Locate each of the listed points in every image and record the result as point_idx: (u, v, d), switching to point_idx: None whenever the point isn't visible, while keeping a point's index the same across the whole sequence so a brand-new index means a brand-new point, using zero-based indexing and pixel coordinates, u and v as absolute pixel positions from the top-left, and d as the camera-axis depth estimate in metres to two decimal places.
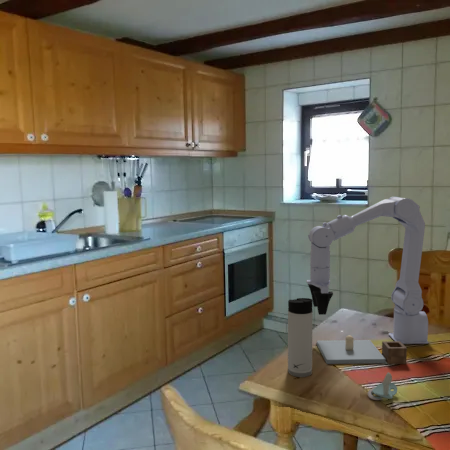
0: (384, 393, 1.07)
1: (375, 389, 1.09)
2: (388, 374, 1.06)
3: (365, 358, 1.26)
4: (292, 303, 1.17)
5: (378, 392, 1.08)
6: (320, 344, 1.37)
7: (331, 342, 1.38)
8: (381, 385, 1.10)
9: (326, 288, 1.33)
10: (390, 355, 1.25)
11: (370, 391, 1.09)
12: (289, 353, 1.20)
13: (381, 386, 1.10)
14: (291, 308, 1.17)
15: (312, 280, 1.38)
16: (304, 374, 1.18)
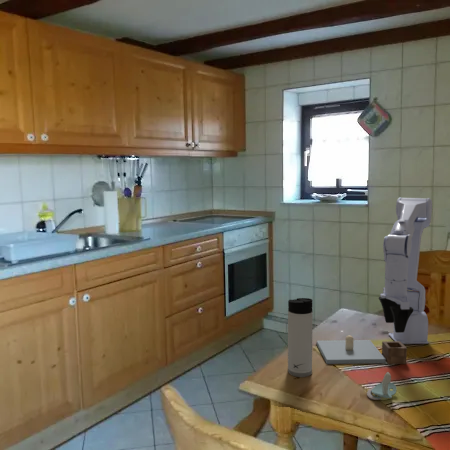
0: (383, 393, 1.07)
1: (374, 389, 1.09)
2: (387, 374, 1.06)
3: (365, 358, 1.26)
4: (292, 303, 1.17)
5: (377, 392, 1.08)
6: (320, 344, 1.37)
7: (331, 342, 1.38)
8: (380, 385, 1.11)
9: (407, 304, 1.19)
10: (390, 355, 1.25)
11: (369, 391, 1.09)
12: (289, 353, 1.20)
13: (380, 386, 1.10)
14: (291, 308, 1.17)
15: (388, 294, 1.24)
16: (304, 374, 1.18)
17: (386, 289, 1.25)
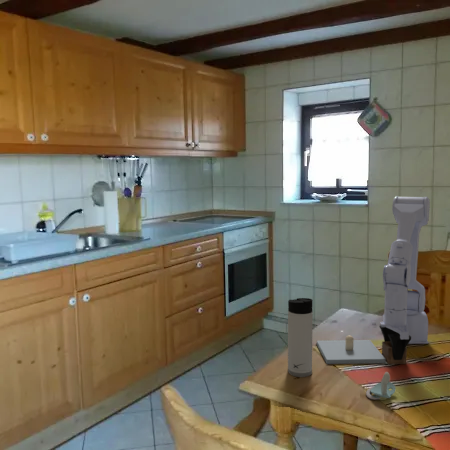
0: (382, 392, 1.07)
1: (373, 389, 1.09)
2: (386, 373, 1.07)
3: (365, 358, 1.26)
4: (292, 303, 1.17)
5: (376, 391, 1.08)
6: (320, 344, 1.37)
7: (331, 342, 1.38)
8: (379, 385, 1.11)
9: (406, 334, 1.20)
10: (390, 355, 1.25)
11: (368, 391, 1.09)
12: (289, 353, 1.20)
13: (379, 386, 1.10)
14: (291, 308, 1.17)
15: (387, 323, 1.25)
16: (304, 374, 1.18)
17: (386, 318, 1.26)
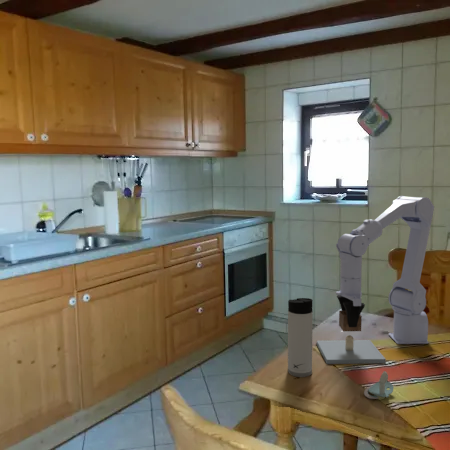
0: (380, 392, 1.07)
1: (371, 388, 1.10)
2: (384, 373, 1.07)
3: (365, 358, 1.26)
4: (292, 303, 1.17)
5: (374, 391, 1.09)
6: (320, 344, 1.37)
7: (331, 342, 1.38)
8: (377, 384, 1.11)
9: (359, 300, 1.24)
10: (345, 323, 1.29)
11: (366, 390, 1.10)
12: (289, 353, 1.20)
13: (377, 385, 1.11)
14: (291, 308, 1.17)
15: (342, 291, 1.29)
16: (304, 374, 1.18)
17: (341, 287, 1.30)
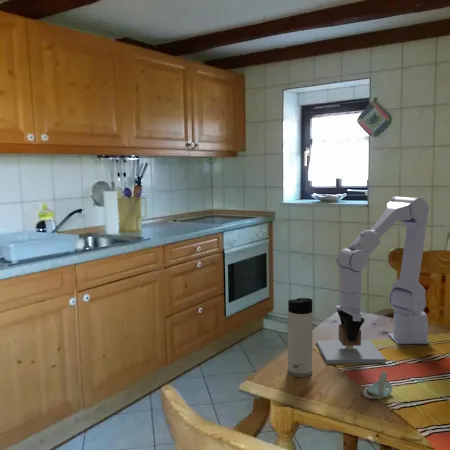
0: (379, 392, 1.07)
1: (370, 388, 1.10)
2: (383, 373, 1.07)
3: (365, 358, 1.26)
4: (292, 303, 1.17)
5: (373, 391, 1.09)
6: (320, 344, 1.37)
7: (331, 342, 1.38)
8: (376, 384, 1.11)
9: (359, 316, 1.24)
10: (345, 337, 1.30)
11: (365, 390, 1.10)
12: (289, 353, 1.20)
13: (376, 385, 1.11)
14: (291, 308, 1.17)
15: (342, 306, 1.30)
16: (304, 374, 1.18)
17: (341, 301, 1.30)
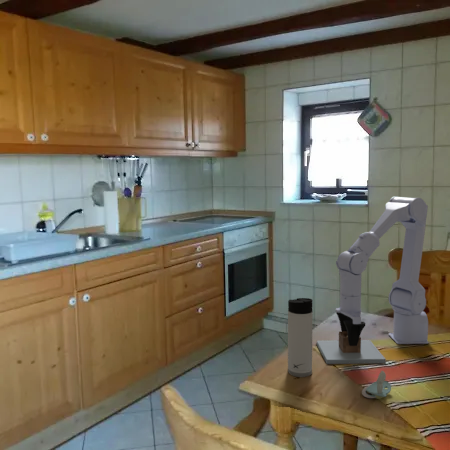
0: (378, 391, 1.08)
1: (369, 387, 1.10)
2: (382, 372, 1.07)
3: (365, 358, 1.26)
4: (292, 303, 1.17)
5: (372, 390, 1.09)
6: (320, 344, 1.37)
7: (331, 342, 1.38)
8: (375, 383, 1.11)
9: (358, 319, 1.24)
10: (345, 344, 1.30)
11: (364, 389, 1.10)
12: (289, 353, 1.20)
13: (375, 384, 1.11)
14: (291, 308, 1.17)
15: (342, 309, 1.30)
16: (304, 374, 1.18)
17: (341, 304, 1.31)
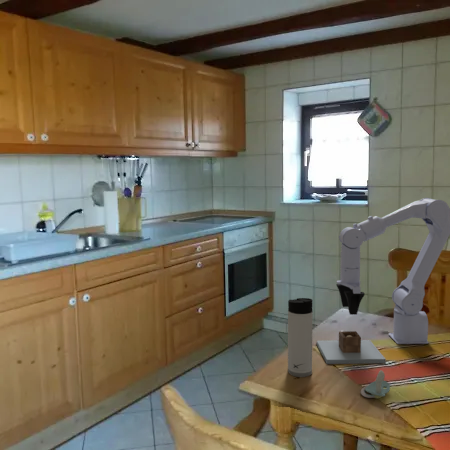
0: (377, 391, 1.08)
1: (368, 387, 1.10)
2: (380, 372, 1.07)
3: (365, 358, 1.26)
4: (292, 303, 1.17)
5: (371, 390, 1.09)
6: (320, 344, 1.37)
7: (331, 342, 1.38)
8: (374, 383, 1.11)
9: (358, 288, 1.34)
10: (345, 344, 1.30)
11: (363, 389, 1.10)
12: (289, 353, 1.20)
13: (374, 384, 1.11)
14: (291, 308, 1.17)
15: (343, 280, 1.40)
16: (304, 374, 1.18)
17: (341, 276, 1.40)
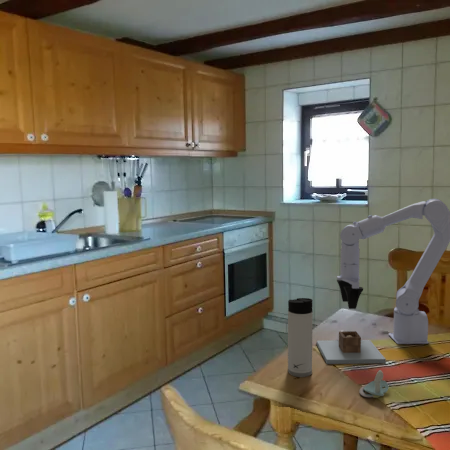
0: (375, 390, 1.08)
1: (367, 387, 1.10)
2: (379, 372, 1.08)
3: (365, 358, 1.26)
4: (292, 303, 1.17)
5: (370, 389, 1.09)
6: (320, 344, 1.37)
7: (331, 342, 1.38)
8: (373, 383, 1.12)
9: (357, 283, 1.39)
10: (345, 344, 1.30)
11: (362, 389, 1.10)
12: (289, 353, 1.20)
13: (373, 384, 1.11)
14: (291, 308, 1.17)
15: (342, 276, 1.45)
16: (304, 374, 1.18)
17: (341, 272, 1.46)
